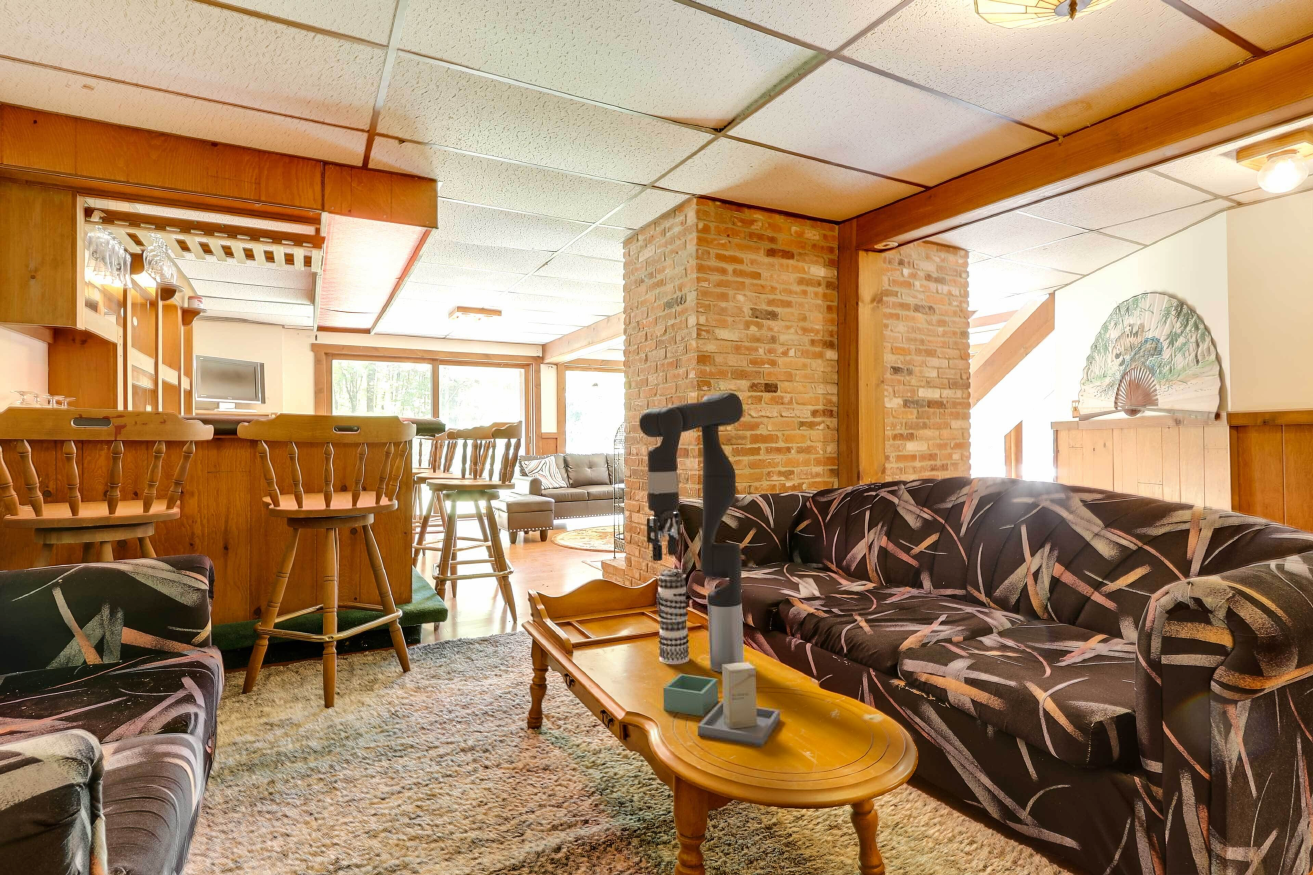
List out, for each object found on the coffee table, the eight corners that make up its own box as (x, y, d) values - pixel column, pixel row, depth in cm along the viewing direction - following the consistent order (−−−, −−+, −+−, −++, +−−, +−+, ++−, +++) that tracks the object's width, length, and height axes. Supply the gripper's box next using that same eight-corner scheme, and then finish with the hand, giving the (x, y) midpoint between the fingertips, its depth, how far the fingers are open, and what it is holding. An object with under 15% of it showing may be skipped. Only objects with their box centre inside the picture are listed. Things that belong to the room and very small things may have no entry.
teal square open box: (680, 694, 151) (680, 673, 151) (718, 700, 147) (717, 678, 147) (663, 709, 143) (663, 687, 143) (703, 716, 139) (702, 693, 139)
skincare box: (730, 729, 130) (728, 670, 130) (722, 721, 134) (720, 663, 135) (758, 725, 132) (756, 667, 132) (750, 717, 136) (748, 660, 136)
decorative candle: (691, 653, 182) (688, 567, 182) (689, 664, 172) (687, 573, 173) (659, 653, 183) (657, 567, 183) (656, 664, 173) (654, 573, 174)
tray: (720, 710, 142) (720, 701, 142) (780, 719, 136) (779, 710, 136) (697, 735, 129) (697, 725, 129) (762, 746, 123) (761, 736, 123)
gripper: (661, 488, 160) (663, 552, 160) (635, 492, 147) (637, 561, 147) (689, 488, 157) (691, 553, 156) (664, 492, 144) (666, 563, 143)
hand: (665, 557), depth 151 cm, fingers open, 8 cm apart
